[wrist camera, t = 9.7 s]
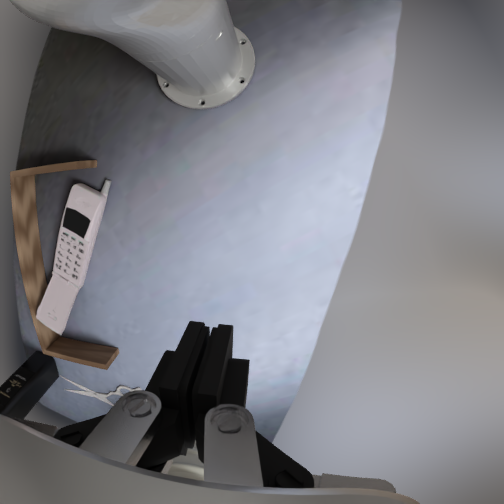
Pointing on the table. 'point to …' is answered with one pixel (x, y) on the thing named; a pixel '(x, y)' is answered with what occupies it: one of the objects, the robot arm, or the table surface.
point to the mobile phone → (72, 253)
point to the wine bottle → (27, 385)
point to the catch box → (35, 271)
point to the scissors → (100, 395)
